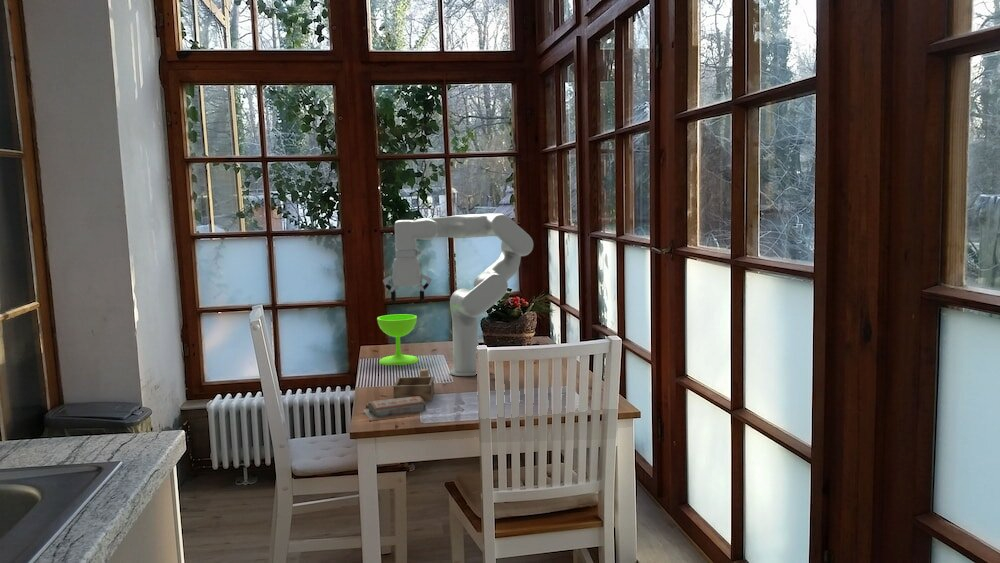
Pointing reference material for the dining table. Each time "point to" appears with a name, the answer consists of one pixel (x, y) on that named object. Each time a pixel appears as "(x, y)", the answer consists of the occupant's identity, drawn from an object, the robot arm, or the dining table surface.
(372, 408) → the packaged product
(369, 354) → the dining table surface
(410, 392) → the walnut box
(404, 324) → the wineglass
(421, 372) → the lid
